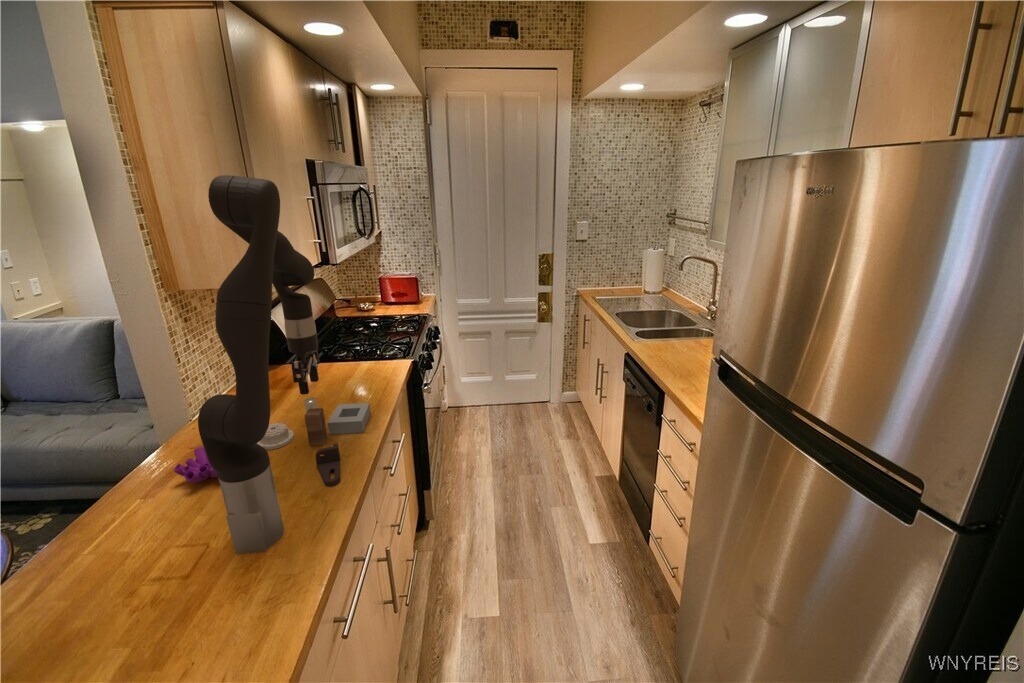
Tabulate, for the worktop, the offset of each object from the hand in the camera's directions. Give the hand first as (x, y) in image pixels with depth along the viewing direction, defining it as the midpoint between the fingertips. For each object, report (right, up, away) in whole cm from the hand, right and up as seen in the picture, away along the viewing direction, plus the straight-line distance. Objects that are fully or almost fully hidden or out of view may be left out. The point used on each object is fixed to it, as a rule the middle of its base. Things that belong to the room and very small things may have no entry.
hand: (310, 387), depth 126 cm
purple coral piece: (-21, -22, -9) cm, 32 cm away
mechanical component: (-13, -17, +7) cm, 22 cm away
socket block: (+6, -13, +16) cm, 22 cm away
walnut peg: (0, -17, +6) cm, 18 cm away
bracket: (+9, -22, -8) cm, 25 cm away
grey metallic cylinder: (-6, -13, +17) cm, 22 cm away
